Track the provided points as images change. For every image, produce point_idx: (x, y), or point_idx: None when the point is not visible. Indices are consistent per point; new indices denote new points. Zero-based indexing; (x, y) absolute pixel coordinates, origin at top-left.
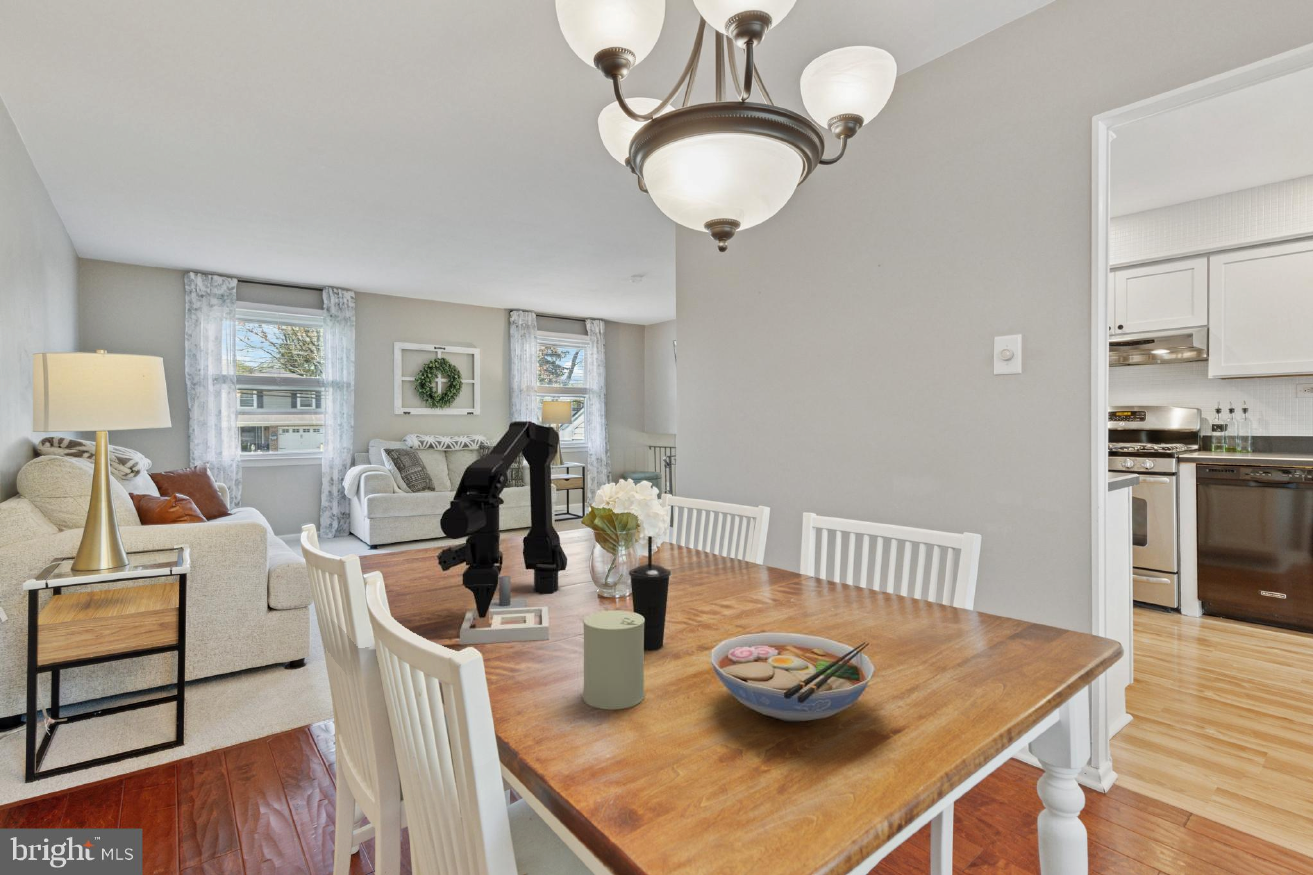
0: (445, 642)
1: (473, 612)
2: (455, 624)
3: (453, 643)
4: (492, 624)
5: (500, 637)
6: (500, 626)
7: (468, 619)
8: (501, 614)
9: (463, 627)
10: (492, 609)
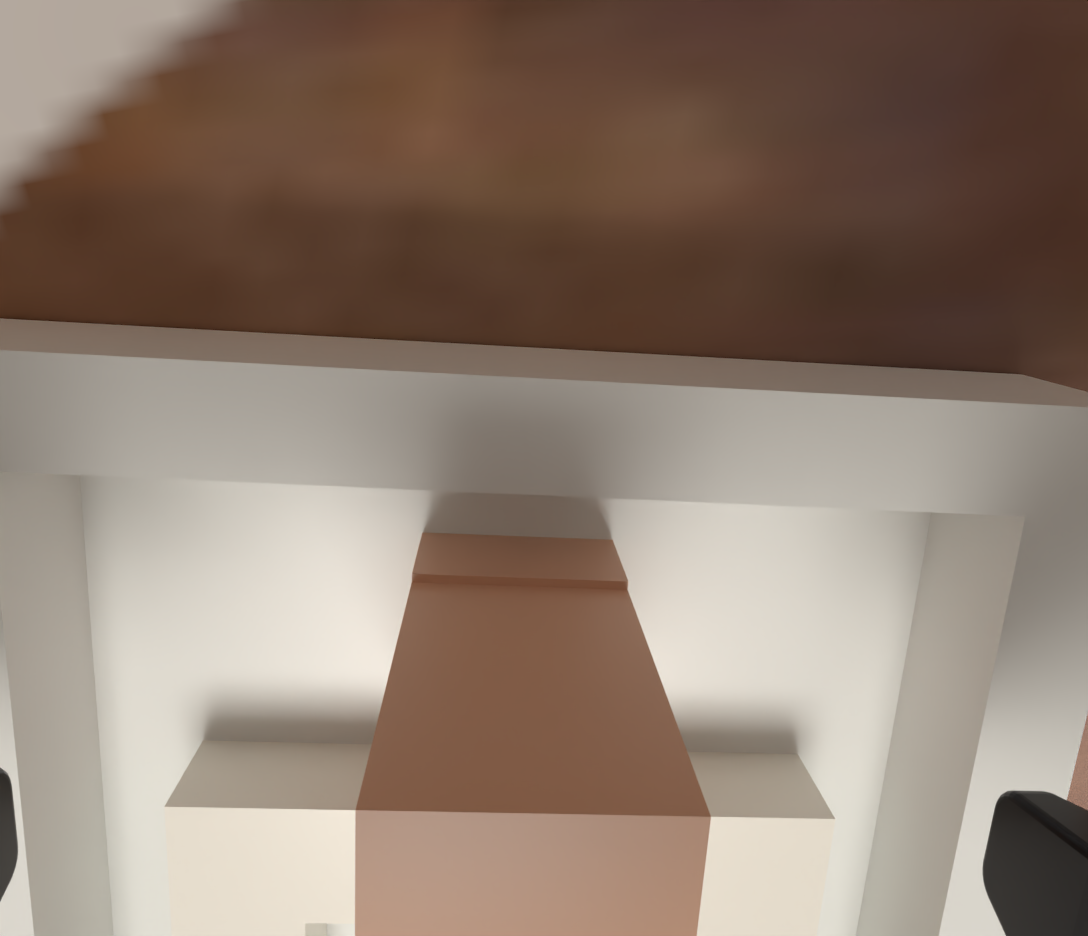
0: (133, 84)
1: (1018, 520)
2: (1005, 190)
3: (70, 216)
4: (335, 822)
5: None
6: (217, 929)
7: (560, 460)
8: (903, 903)
9: (67, 396)
10: None
